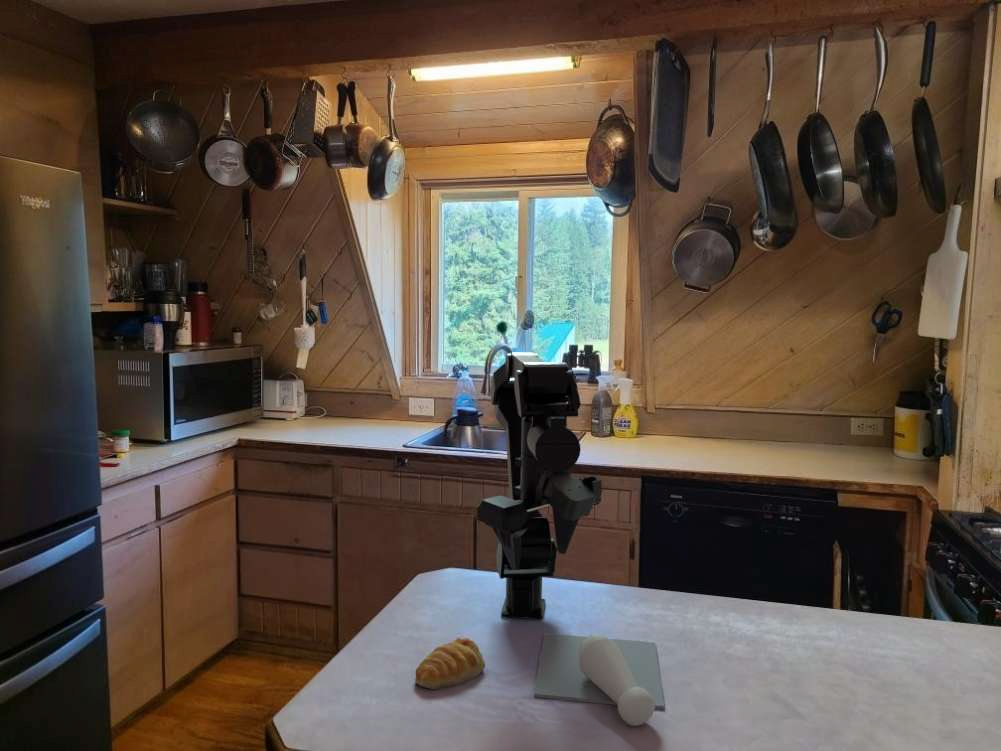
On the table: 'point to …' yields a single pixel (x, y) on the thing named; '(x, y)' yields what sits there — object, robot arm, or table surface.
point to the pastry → (450, 664)
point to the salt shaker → (615, 678)
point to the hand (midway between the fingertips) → (539, 561)
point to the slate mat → (569, 683)
